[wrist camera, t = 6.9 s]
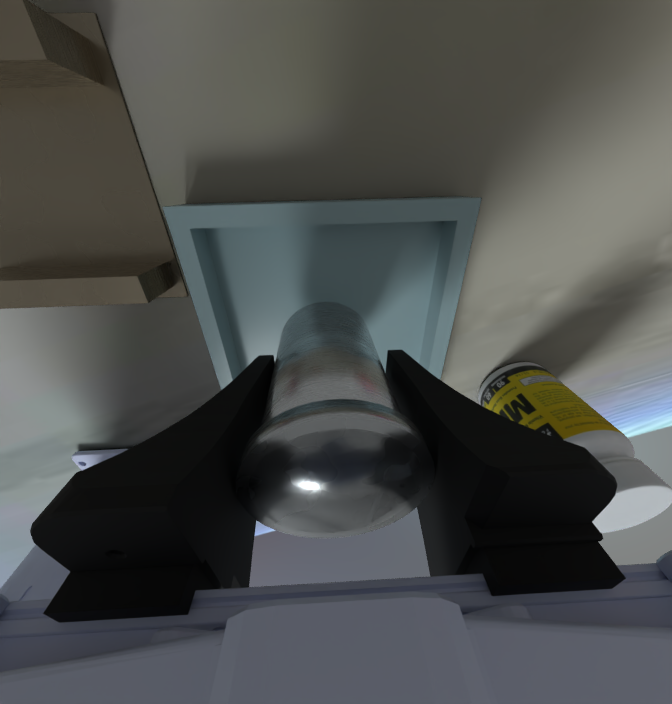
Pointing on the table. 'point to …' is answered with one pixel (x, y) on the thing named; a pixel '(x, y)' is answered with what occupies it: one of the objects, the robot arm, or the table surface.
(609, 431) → the supplement bottle
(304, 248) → the tray
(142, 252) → the bracket
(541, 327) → the table surface
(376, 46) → the table surface
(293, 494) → the salt shaker
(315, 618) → the robot arm
